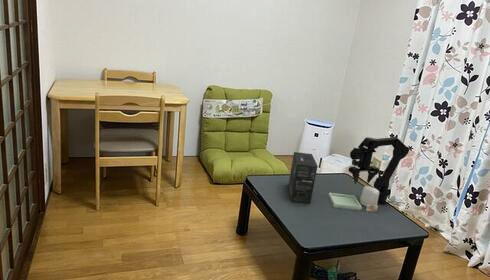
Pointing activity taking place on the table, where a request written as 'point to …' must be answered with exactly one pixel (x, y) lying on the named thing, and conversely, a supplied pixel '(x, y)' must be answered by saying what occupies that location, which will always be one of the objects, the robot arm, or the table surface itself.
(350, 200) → the tray
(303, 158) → the headset box
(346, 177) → the table surface
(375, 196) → the photo printer
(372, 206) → the holder
